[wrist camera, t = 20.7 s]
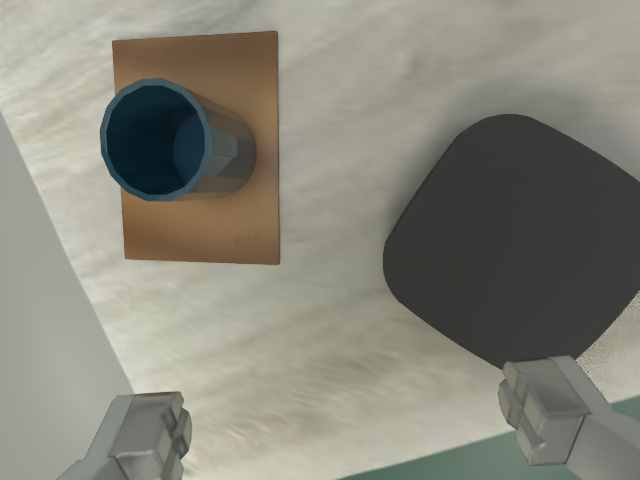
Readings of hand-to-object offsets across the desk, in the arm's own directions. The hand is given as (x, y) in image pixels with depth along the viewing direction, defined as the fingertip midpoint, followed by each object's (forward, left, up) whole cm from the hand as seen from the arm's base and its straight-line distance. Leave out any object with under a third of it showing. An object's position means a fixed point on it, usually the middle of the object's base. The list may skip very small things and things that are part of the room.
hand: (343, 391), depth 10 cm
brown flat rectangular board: (-8, -14, -20) cm, 25 cm away
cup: (-8, -12, -20) cm, 24 cm away
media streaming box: (-1, +9, -20) cm, 22 cm away
